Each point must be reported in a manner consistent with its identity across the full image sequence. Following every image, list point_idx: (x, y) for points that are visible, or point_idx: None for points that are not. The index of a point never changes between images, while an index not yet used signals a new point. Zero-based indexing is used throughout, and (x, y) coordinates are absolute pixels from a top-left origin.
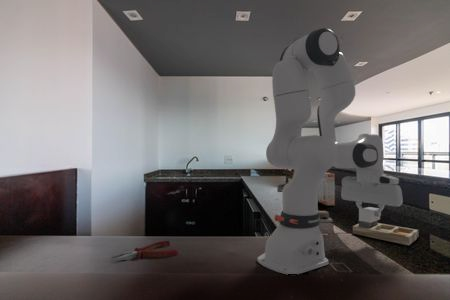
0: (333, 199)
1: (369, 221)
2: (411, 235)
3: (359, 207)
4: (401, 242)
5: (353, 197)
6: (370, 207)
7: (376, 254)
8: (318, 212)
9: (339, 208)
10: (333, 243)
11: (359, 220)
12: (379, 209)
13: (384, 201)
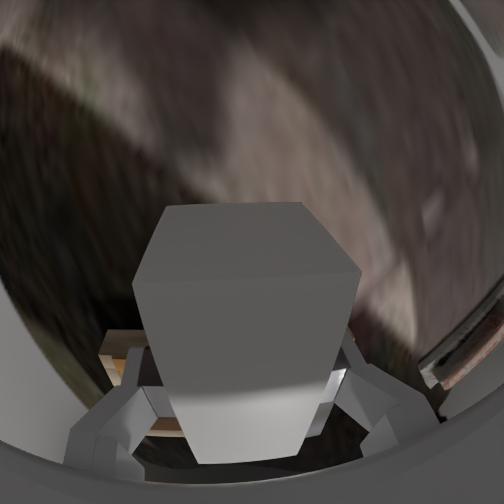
0: None
1: (179, 207)
2: (112, 381)
3: (369, 380)
4: (131, 333)
5: (492, 440)
6: (277, 453)
7: (133, 87)
8: (468, 360)
9: None
10: (364, 90)
11: (295, 202)
12: (106, 410)
13: (4, 485)
